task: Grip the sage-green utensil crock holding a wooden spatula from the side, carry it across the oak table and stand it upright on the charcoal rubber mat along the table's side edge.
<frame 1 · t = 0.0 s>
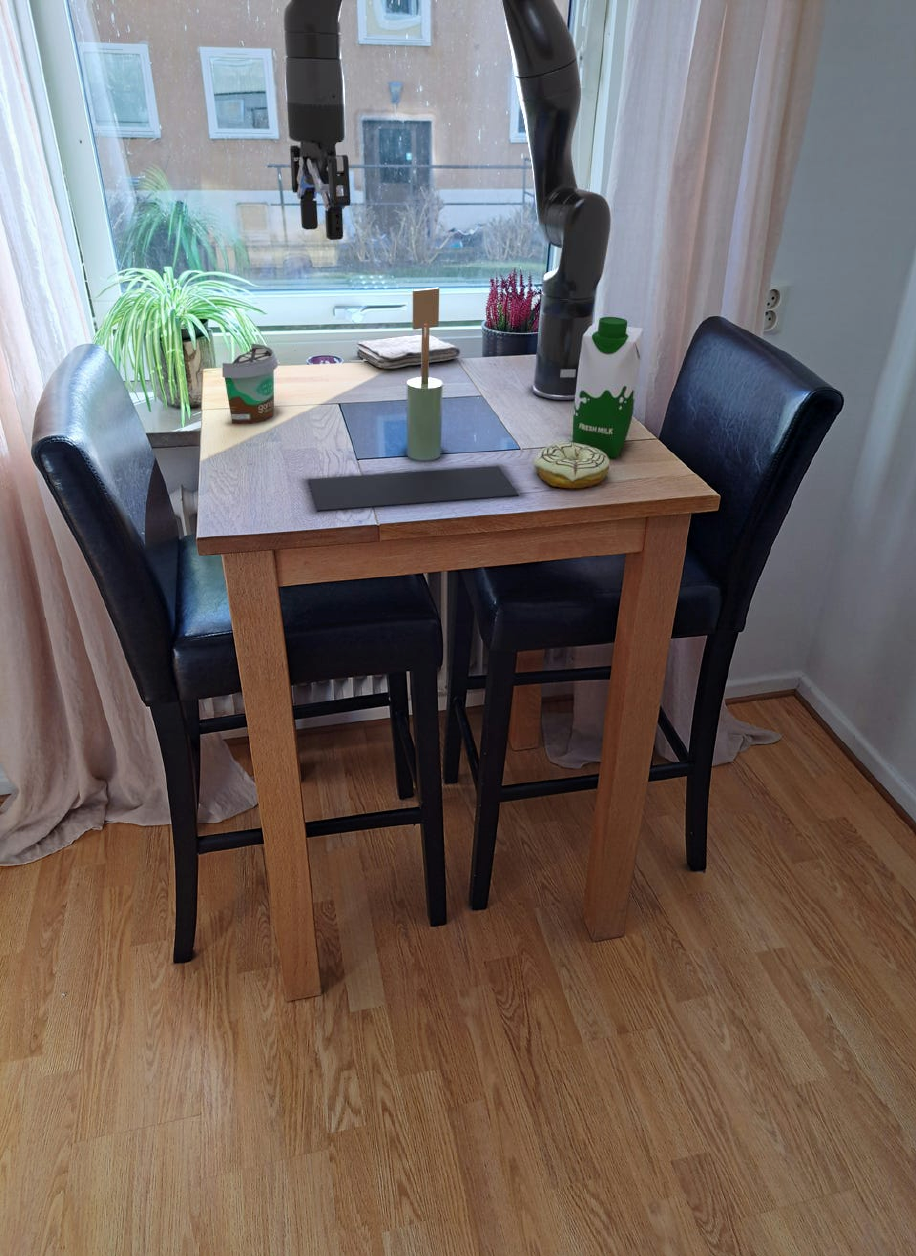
hand: (322, 234, 124), 29 cm above the table, tool pointing down, fingers open, 8 cm apart
milk carton: (598, 448, 139), on the table
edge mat: (412, 488, 124), on the table
food container: (261, 416, 146), on the table
washcloth: (406, 358, 175), on the table
spatula crock: (423, 454, 134), on the table
decorated donut: (570, 478, 129), on the table
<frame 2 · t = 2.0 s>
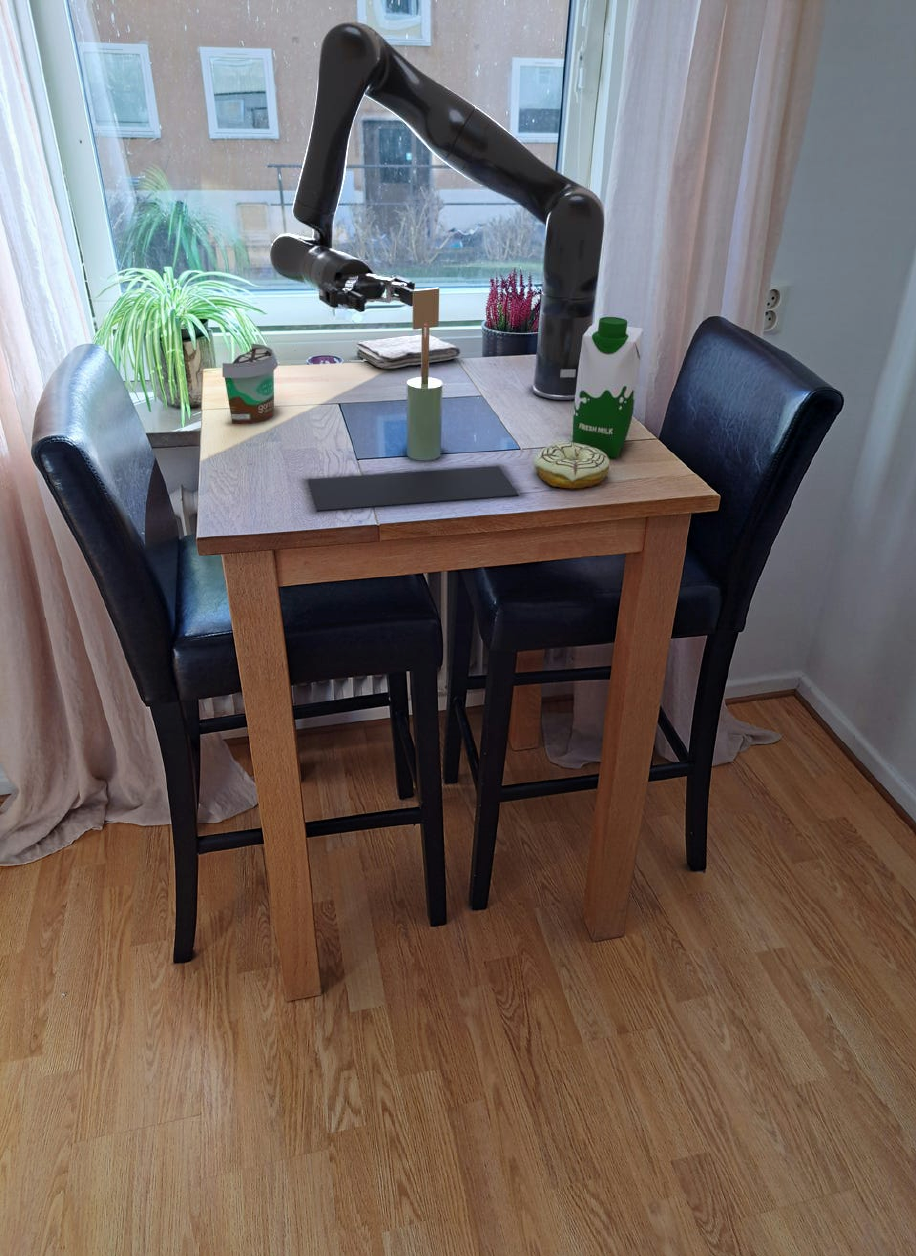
hand: (388, 302, 131), 20 cm above the table, tool horizontal, fingers open, 8 cm apart
nothing on the table moved.
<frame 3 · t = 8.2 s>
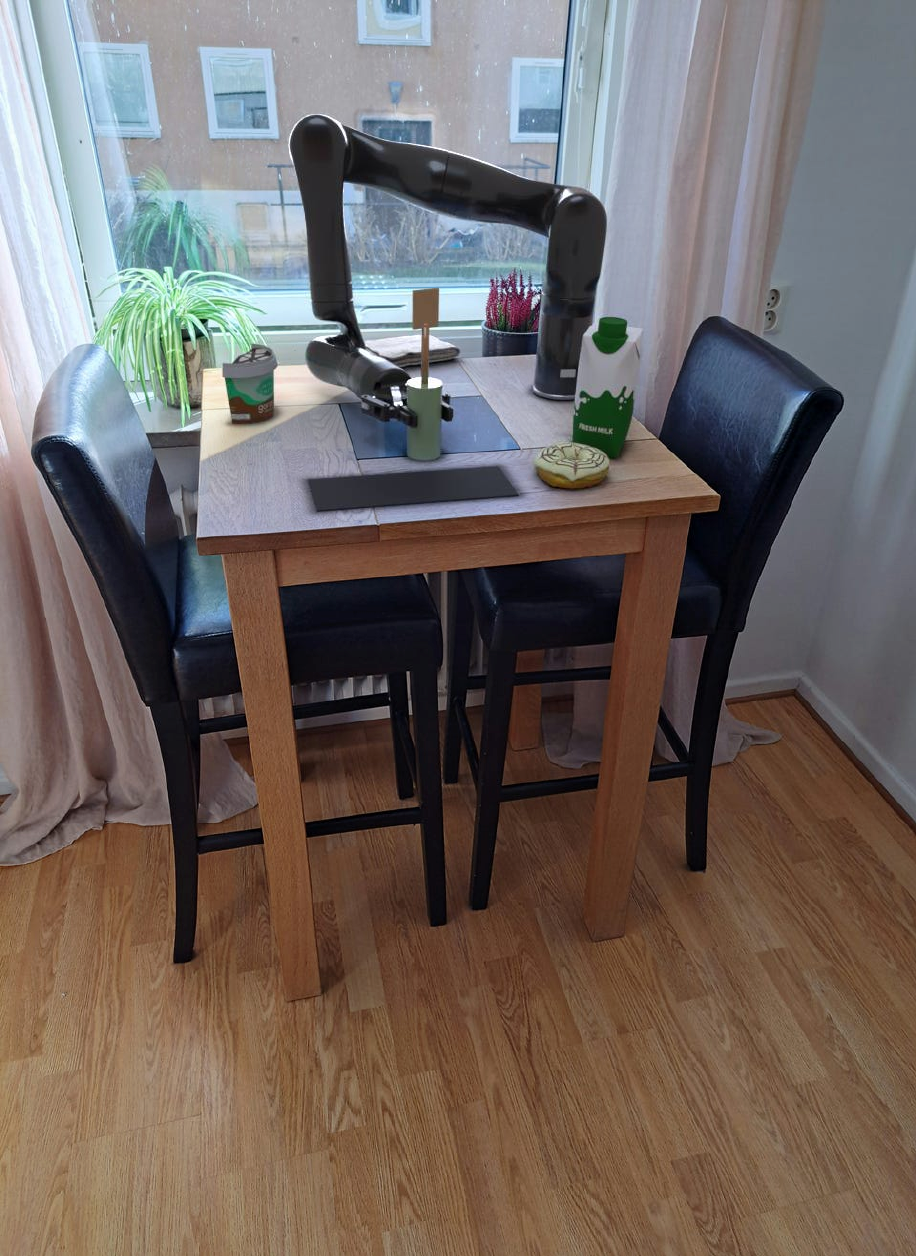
hand: (433, 418, 129), 7 cm above the table, tool horizontal, fingers closed on spatula crock, 5 cm apart
spatula crock: (423, 454, 134), on the table, touching gripper
everything else where it was.
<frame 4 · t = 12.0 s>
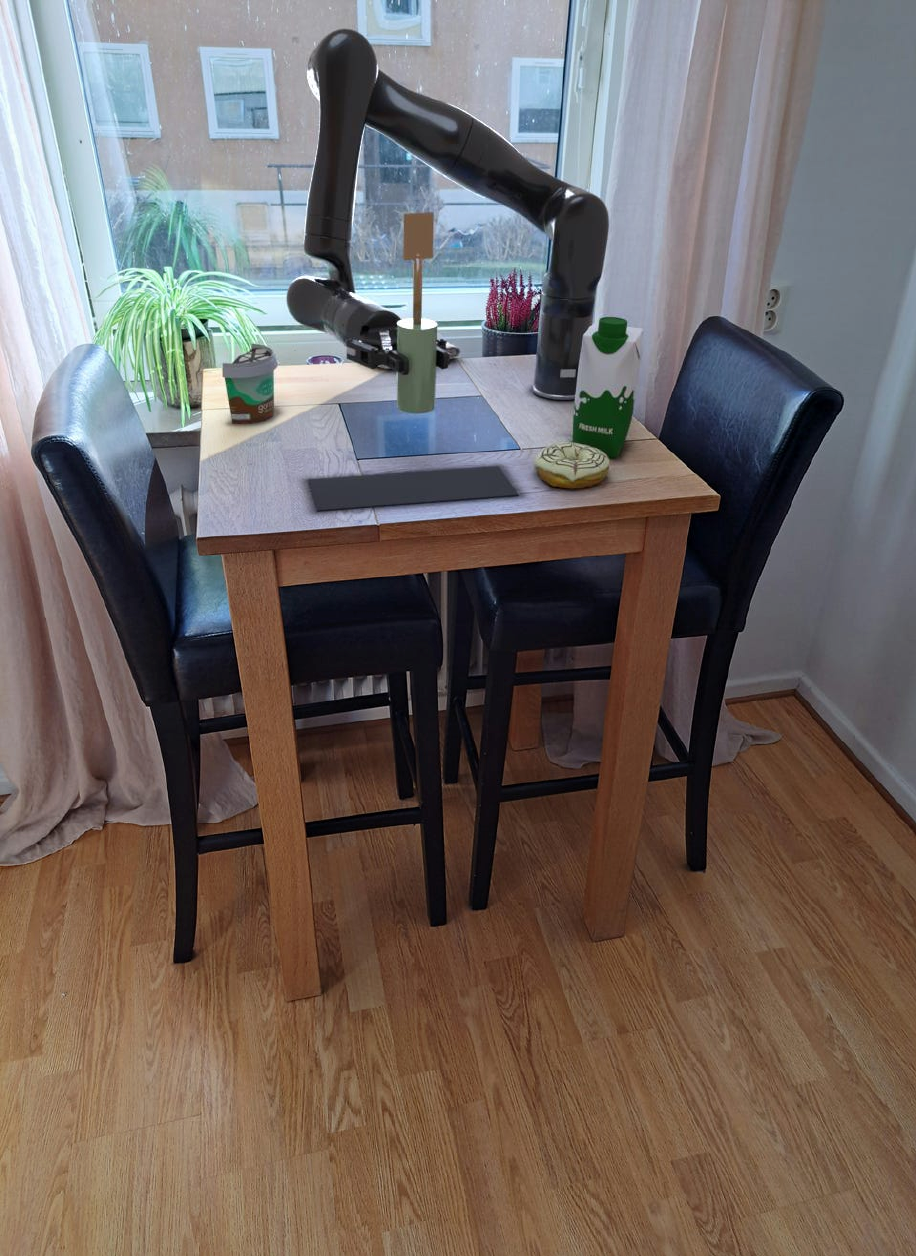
hand: (426, 364, 114), 18 cm above the table, tool horizontal, fingers closed on spatula crock, 5 cm apart
spatula crock: (416, 406, 120), point 11 cm above the table, touching gripper
everything else where it was.
when the fingers open (7 cm above the table, at t = 15.8 s): spatula crock stays where it is, resting on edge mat.
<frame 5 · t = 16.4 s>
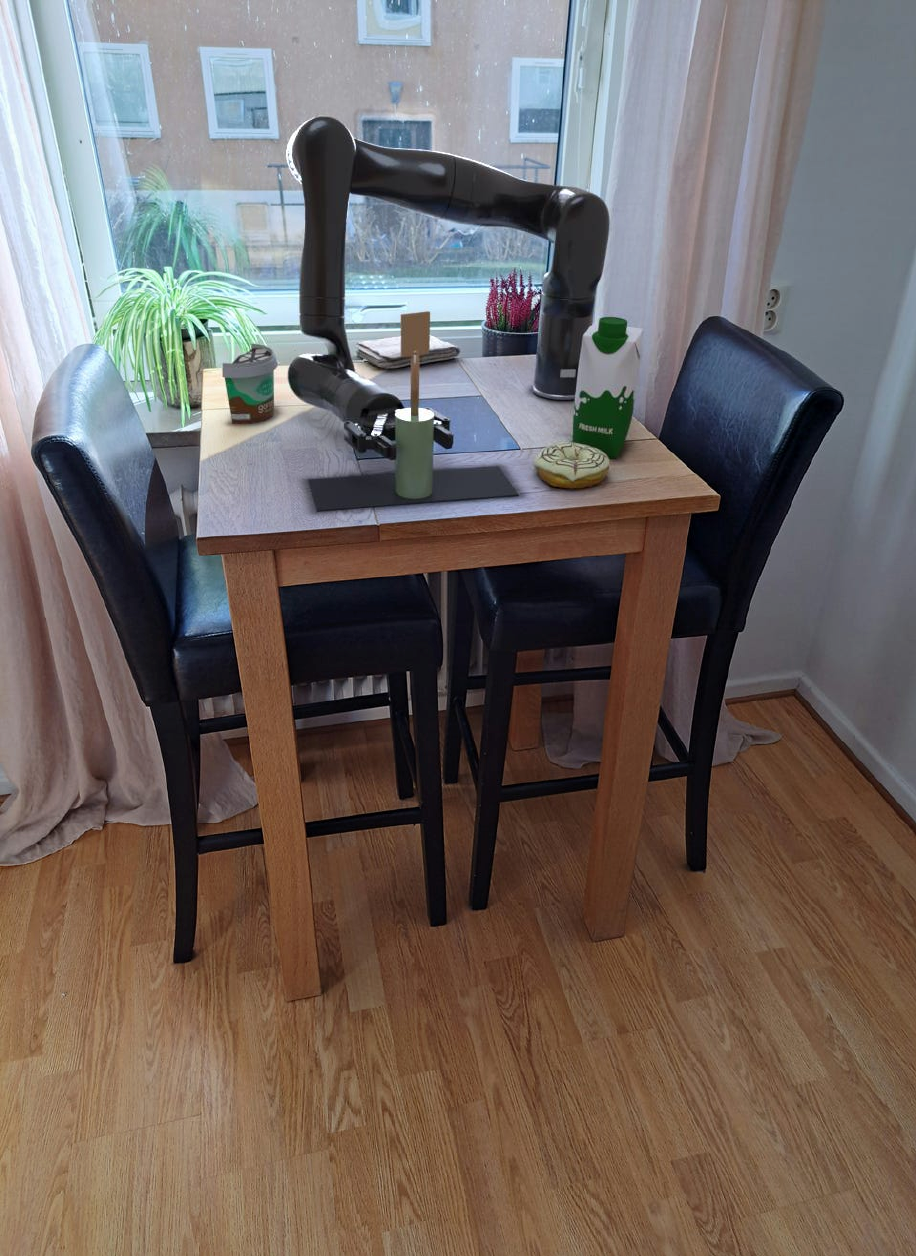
hand: (422, 447, 118), 7 cm above the table, tool horizontal, fingers open, 8 cm apart
spatula crock: (414, 490, 123), resting on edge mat
everything else where it was.
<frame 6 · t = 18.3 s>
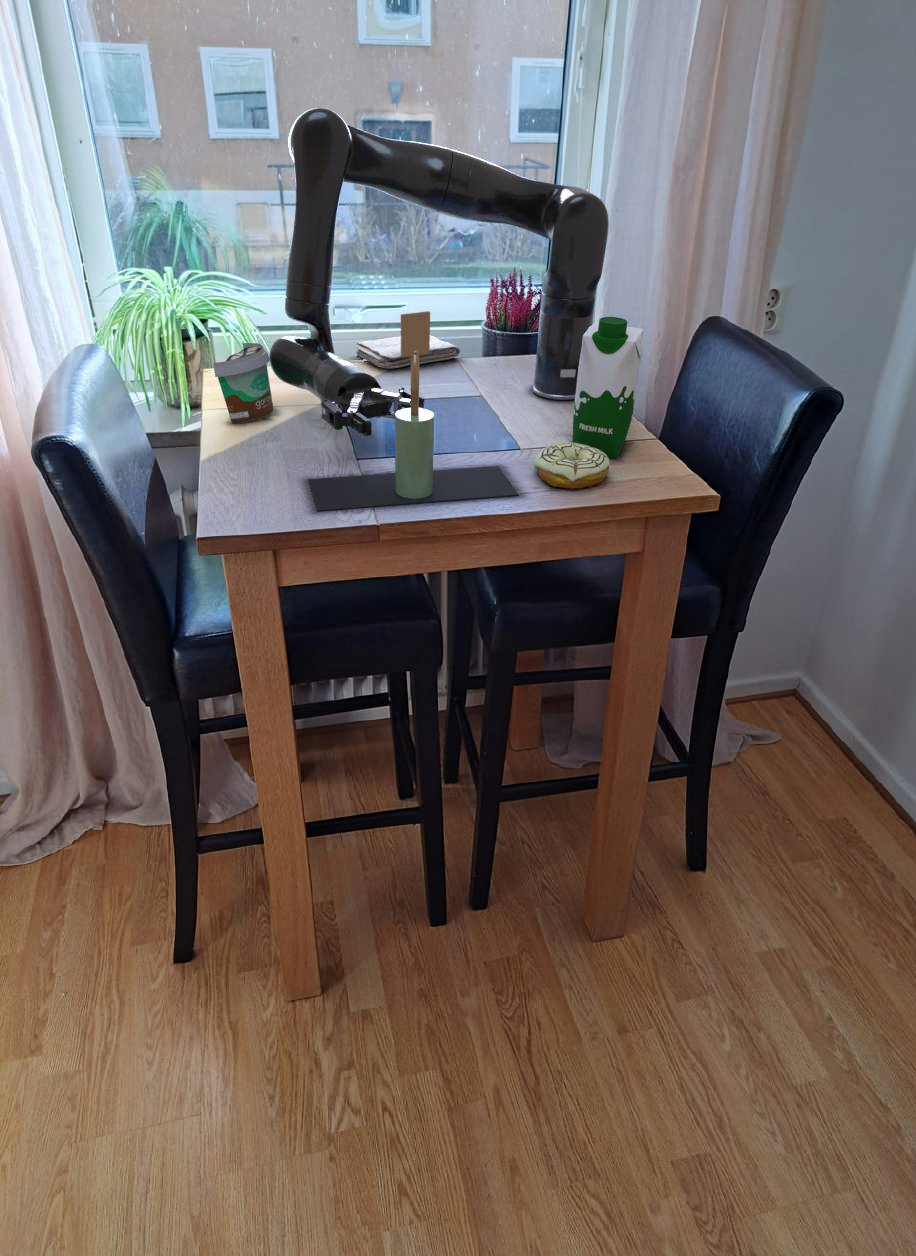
hand: (396, 424, 122), 8 cm above the table, tool horizontal, fingers open, 8 cm apart
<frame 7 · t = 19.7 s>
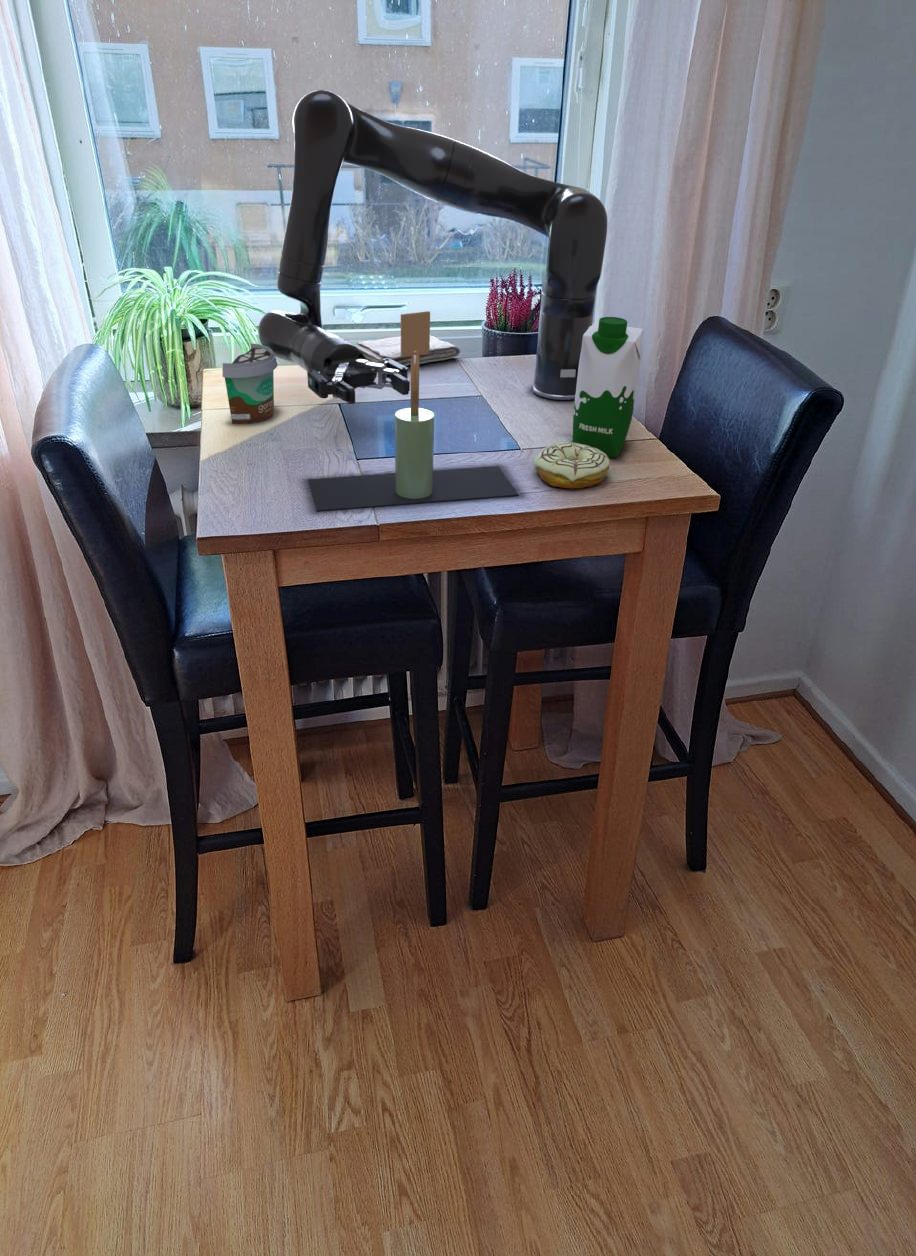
hand: (380, 392, 126), 11 cm above the table, tool horizontal, fingers open, 8 cm apart
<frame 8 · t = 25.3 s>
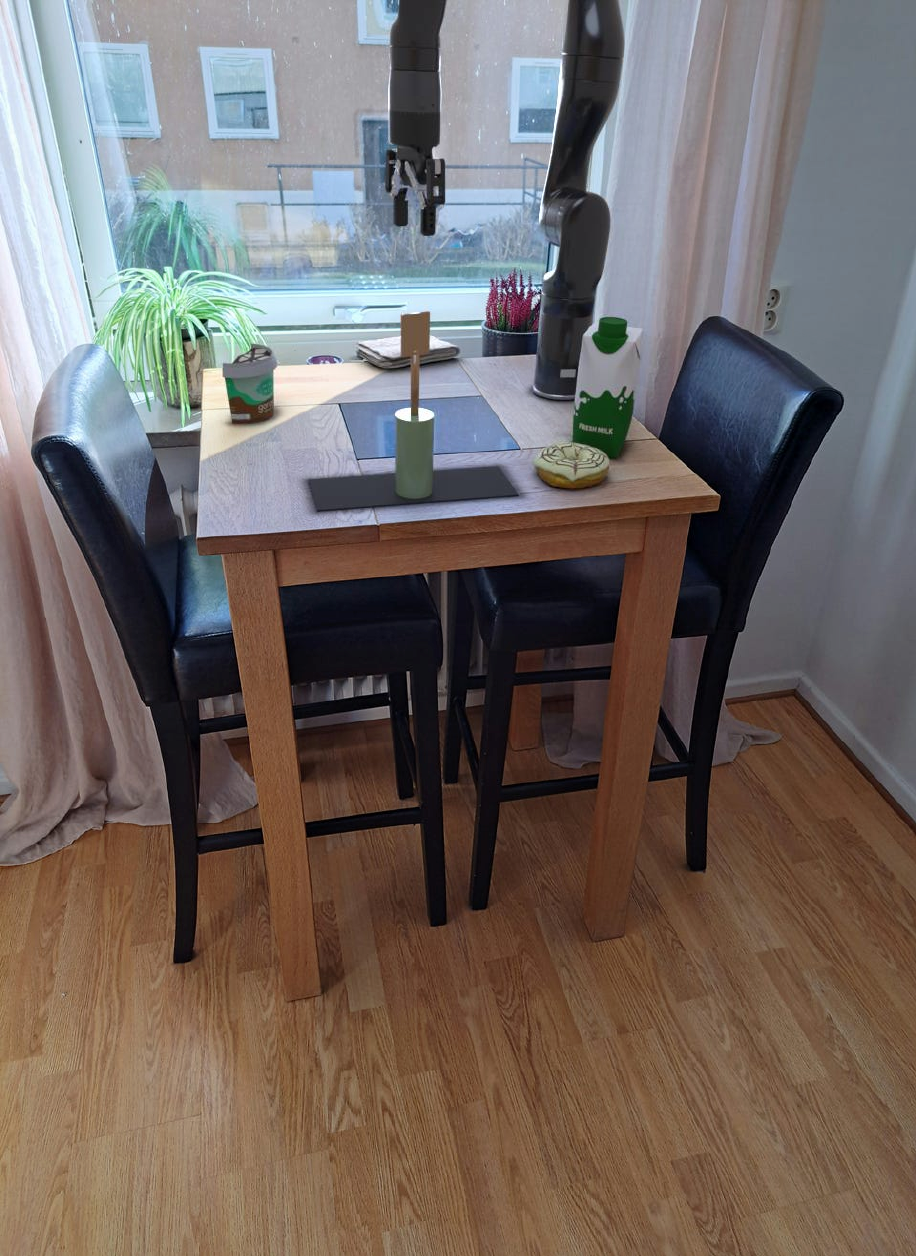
hand: (413, 230, 135), 28 cm above the table, tool pointing down, fingers open, 8 cm apart
nothing on the table moved.
at the end: spatula crock inside the target area on the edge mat (0.3 cm from its centre), point 0.2 cm above the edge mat's base; spatula crock tilted 0°; the gripper is holding nothing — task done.
